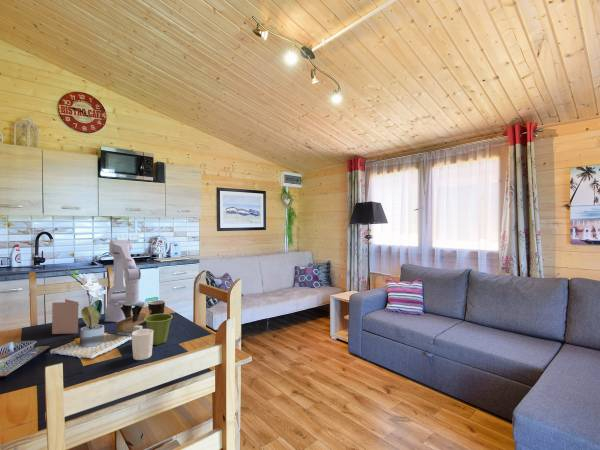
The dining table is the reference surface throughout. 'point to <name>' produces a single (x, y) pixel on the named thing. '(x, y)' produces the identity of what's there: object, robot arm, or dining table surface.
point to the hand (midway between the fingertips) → (131, 320)
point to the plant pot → (159, 326)
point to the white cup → (142, 344)
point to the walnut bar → (130, 322)
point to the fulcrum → (130, 330)
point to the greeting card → (65, 317)
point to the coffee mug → (156, 307)
